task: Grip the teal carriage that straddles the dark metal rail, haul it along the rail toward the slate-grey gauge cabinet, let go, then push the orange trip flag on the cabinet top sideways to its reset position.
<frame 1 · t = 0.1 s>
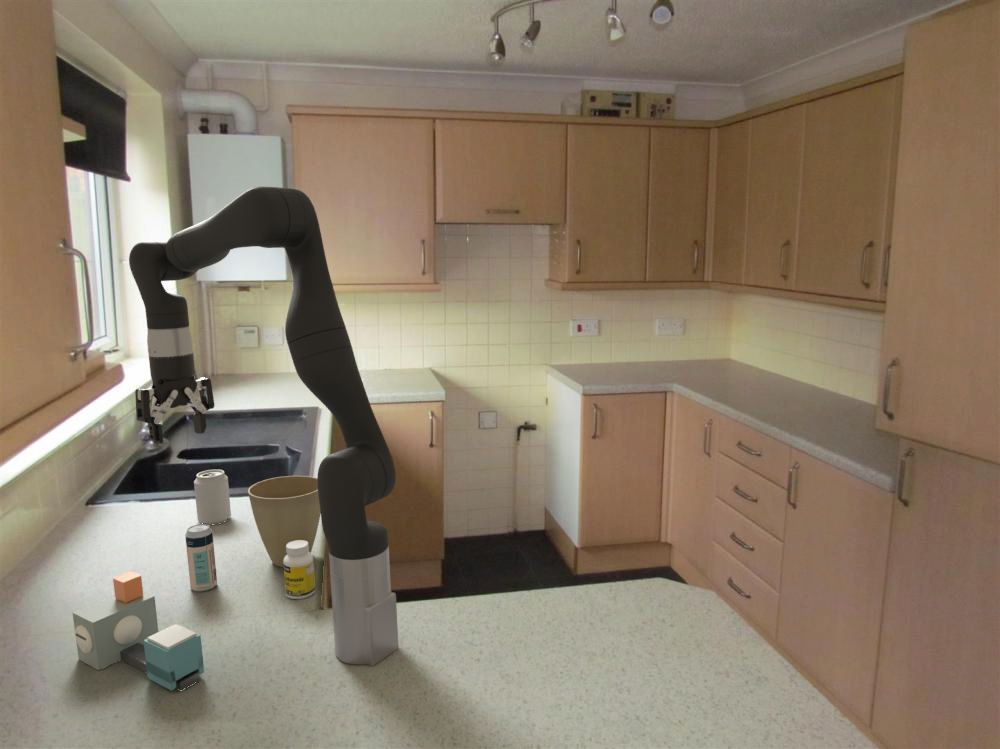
hand: (179, 437, 136), 29 cm above the countertop, tool pointing down, fingers open, 8 cm apart
rail: (159, 670, 112), on the countertop
plant pot: (291, 560, 151), on the countertop
gauge cabinet: (119, 650, 118), on the countertop
carriage: (173, 655, 109), point 4 cm above the countertop, slide at 0.0 cm
can: (214, 521, 174), on the countertop
supplement bottle: (300, 594, 136), on the countertop
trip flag: (128, 586, 118), point 10 cm above the countertop, slide at 0.0 cm
beer can: (204, 588, 140), on the countertop
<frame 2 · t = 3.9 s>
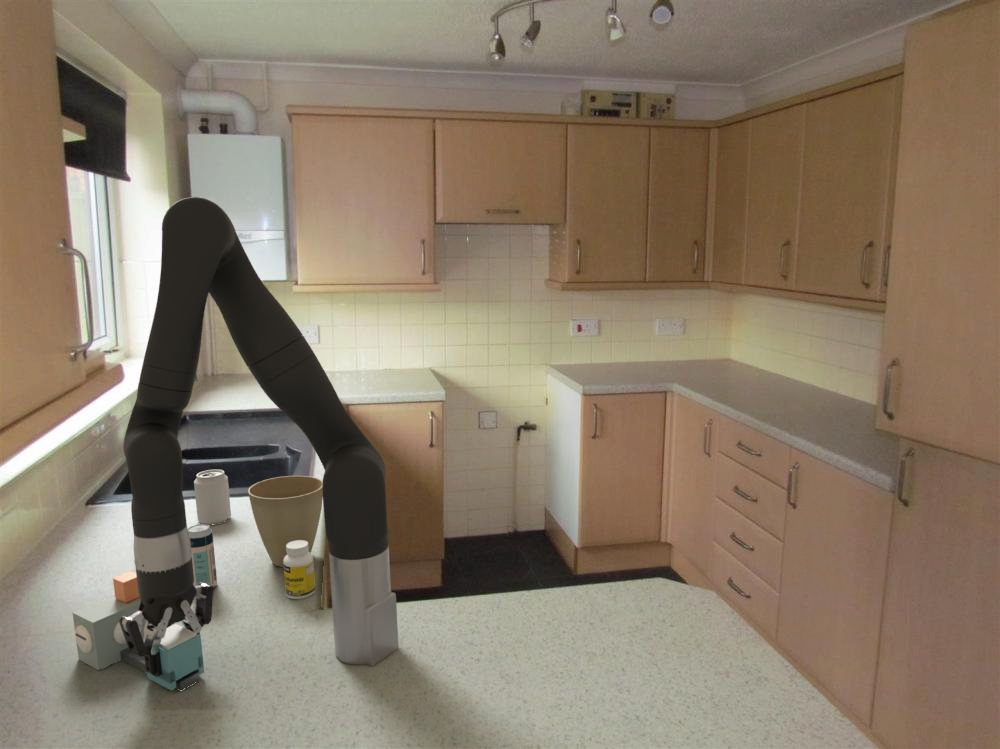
hand: (175, 664, 109), 2 cm above the countertop, tool pointing down, fingers closed on carriage, 5 cm apart
carriage: (174, 655, 109), point 4 cm above the countertop, slide at 0.0 cm, touching gripper
everything else where it was.
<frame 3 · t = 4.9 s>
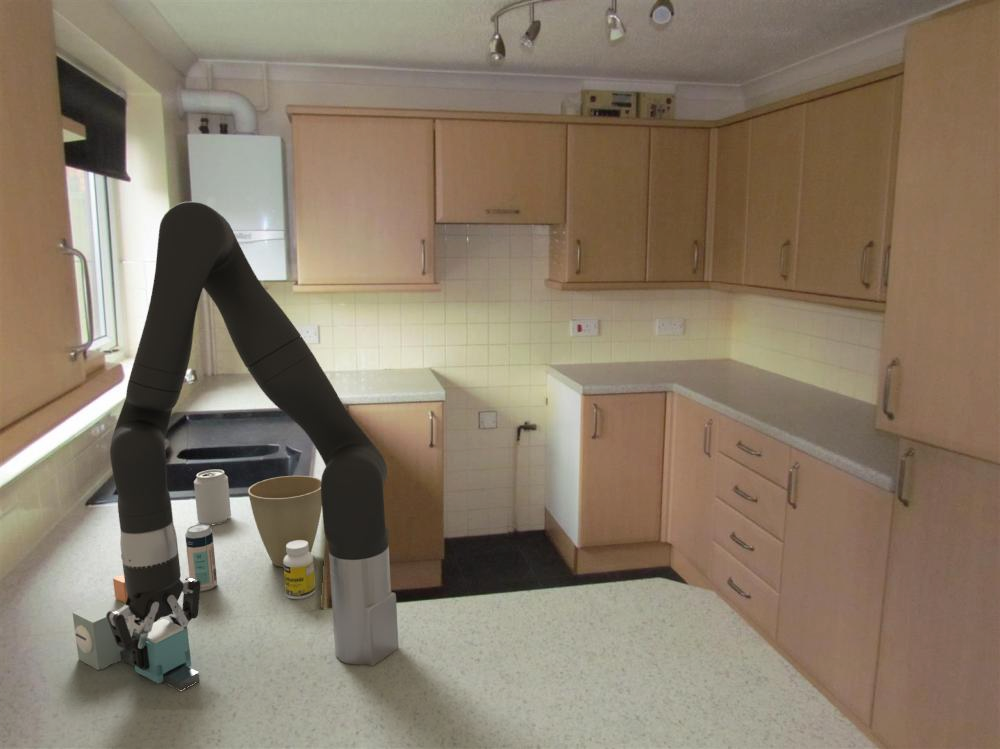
hand: (162, 657, 111), 2 cm above the countertop, tool pointing down, fingers closed on carriage, 5 cm apart
carriage: (161, 649, 111), point 4 cm above the countertop, slide at 3.3 cm, touching gripper
everything else where it was.
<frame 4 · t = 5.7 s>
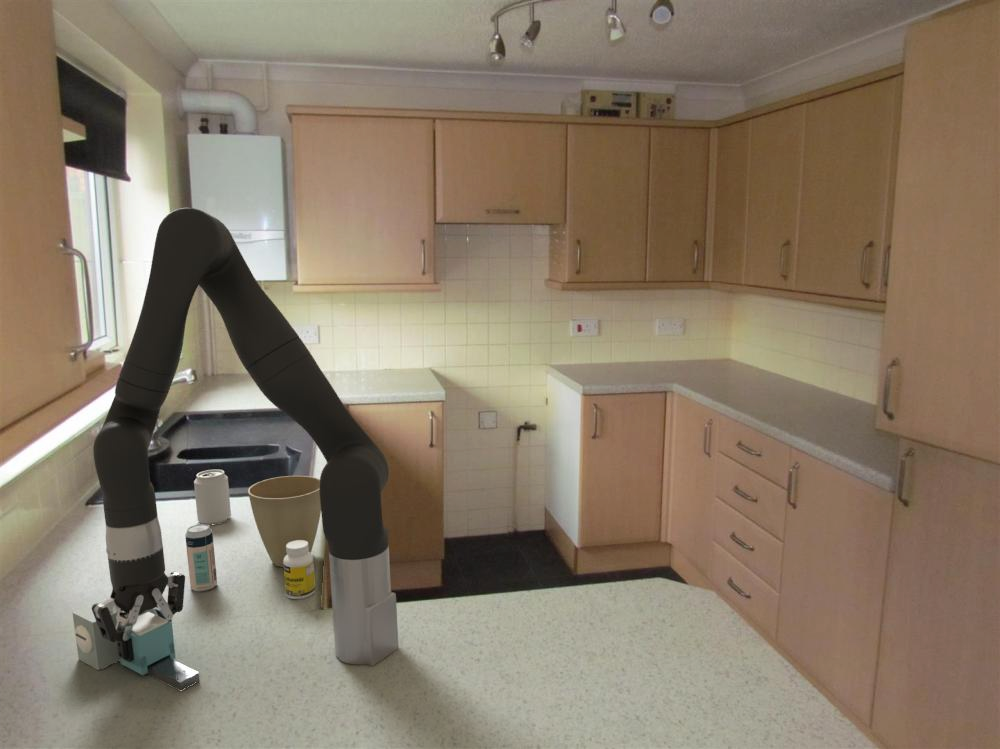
hand: (147, 650, 113), 2 cm above the countertop, tool pointing down, fingers closed on carriage, 5 cm apart
carriage: (146, 641, 113), point 4 cm above the countertop, slide at 7.3 cm, touching gripper
everything else where it was.
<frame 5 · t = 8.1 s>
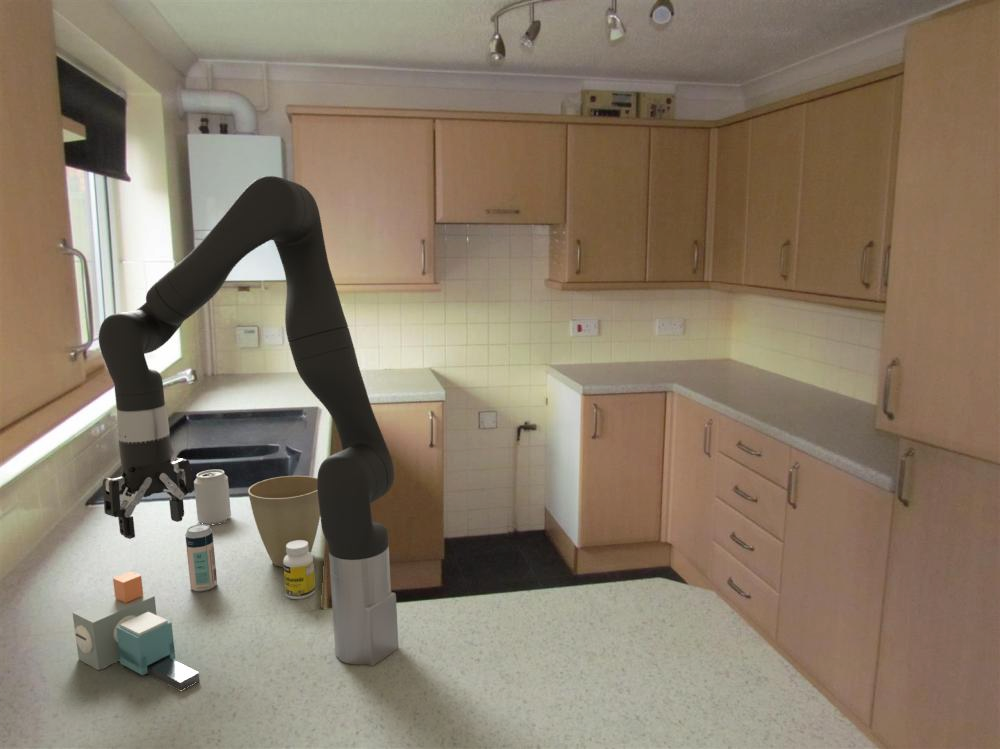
hand: (154, 528, 121), 18 cm above the countertop, tool pointing down, fingers open, 8 cm apart
carriage: (145, 641, 113), point 4 cm above the countertop, slide at 7.4 cm
everything else where it was.
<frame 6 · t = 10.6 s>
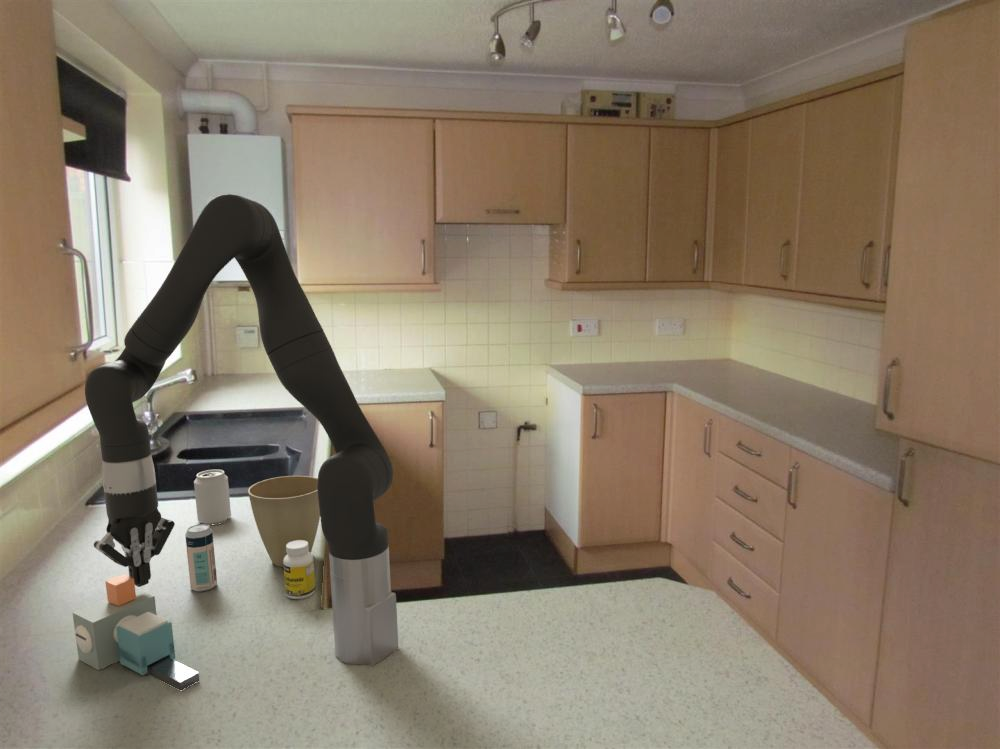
hand: (141, 584, 120), 9 cm above the countertop, tool pointing down, fingers closed
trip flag: (120, 589, 117), point 10 cm above the countertop, slide at 1.2 cm, touching gripper
everything else where it was.
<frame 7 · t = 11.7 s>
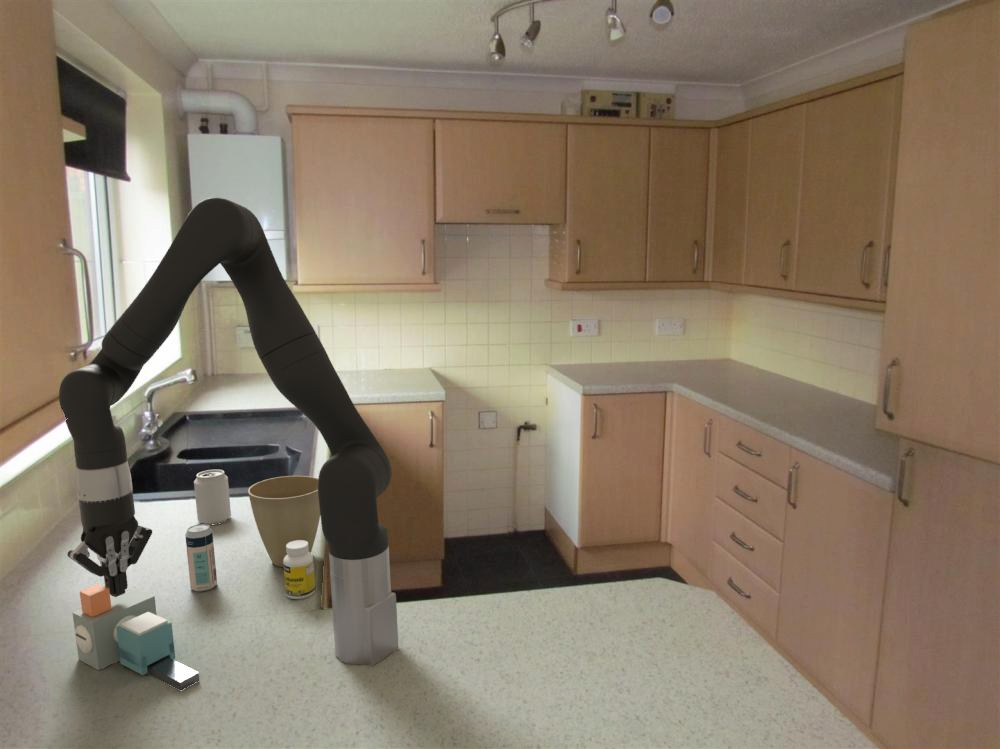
hand: (117, 594, 117), 9 cm above the countertop, tool pointing down, fingers closed
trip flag: (95, 600, 114), point 10 cm above the countertop, slide at 5.3 cm, touching gripper
everything else where it was.
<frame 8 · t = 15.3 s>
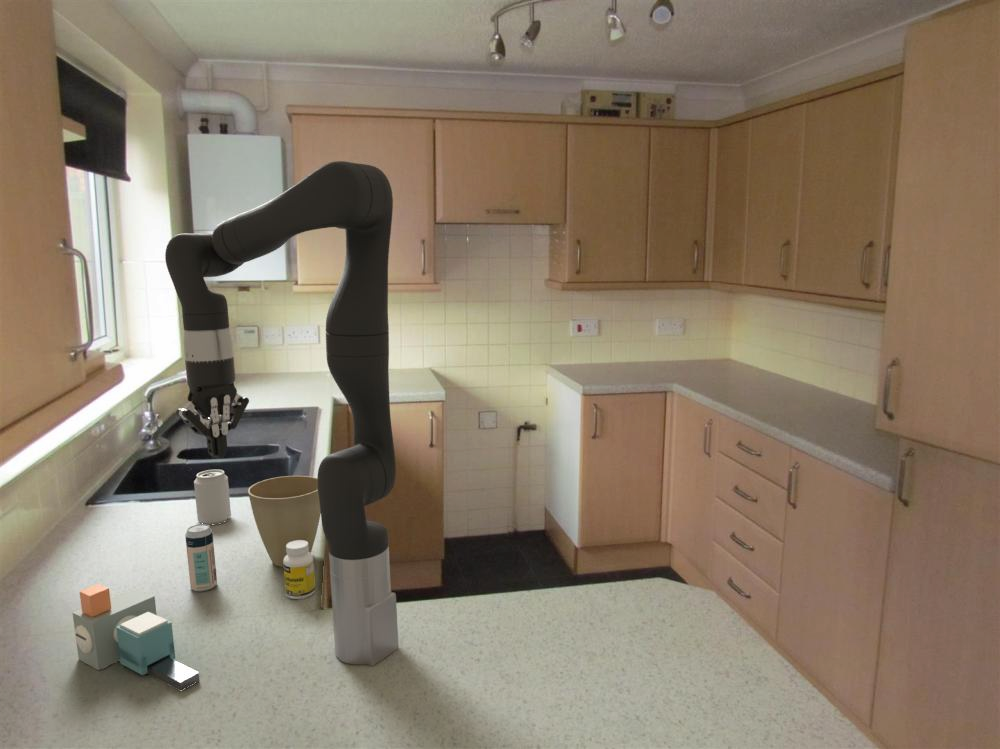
hand: (218, 456, 124), 29 cm above the countertop, tool pointing down, fingers closed
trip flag: (95, 600, 114), point 10 cm above the countertop, slide at 5.3 cm
everything else where it was.
at the end: carriage slide at 7.4 cm; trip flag slide at 5.3 cm; the gripper is holding nothing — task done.
